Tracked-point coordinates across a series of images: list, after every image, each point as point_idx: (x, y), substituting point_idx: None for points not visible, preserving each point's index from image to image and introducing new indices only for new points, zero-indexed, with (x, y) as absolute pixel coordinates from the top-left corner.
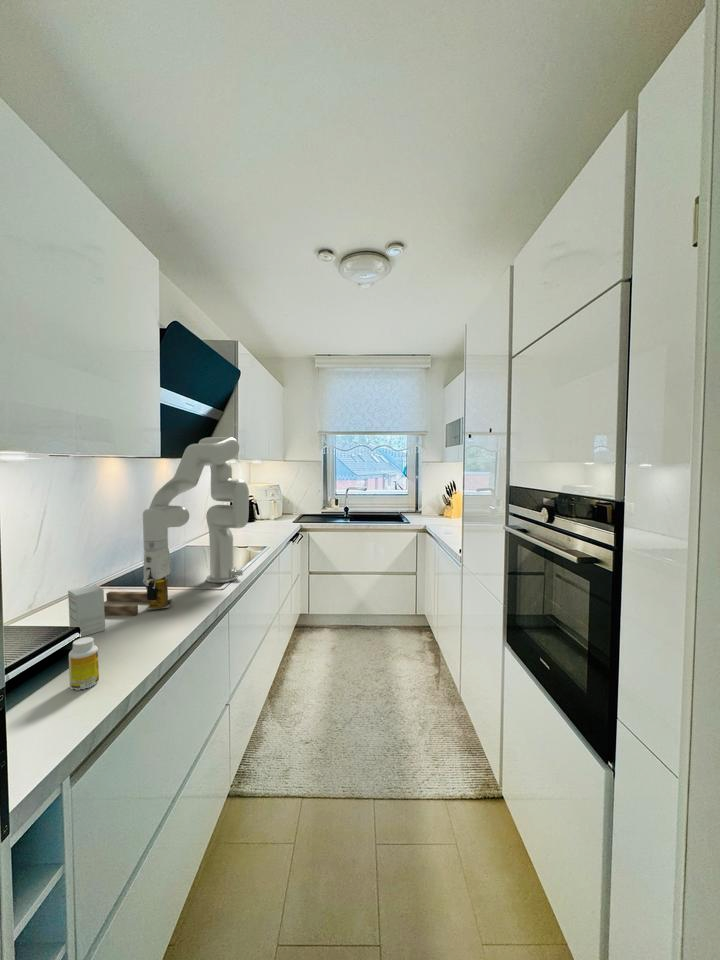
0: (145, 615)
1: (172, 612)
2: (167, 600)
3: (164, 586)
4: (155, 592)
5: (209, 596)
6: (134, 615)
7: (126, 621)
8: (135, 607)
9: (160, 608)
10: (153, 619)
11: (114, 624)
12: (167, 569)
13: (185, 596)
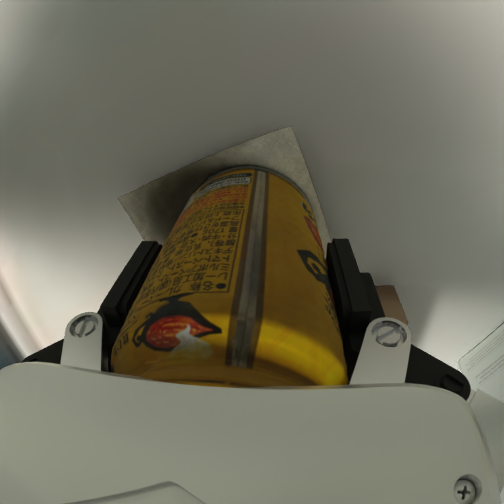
0: (395, 231)
1: (344, 72)
2: (230, 179)
3: (262, 262)
4: (360, 287)
5: (11, 22)
6: (393, 287)
7: (461, 280)
8: (394, 316)
9: (312, 183)
10: (464, 151)
11: (480, 306)
12: (60, 458)
13: (34, 166)
